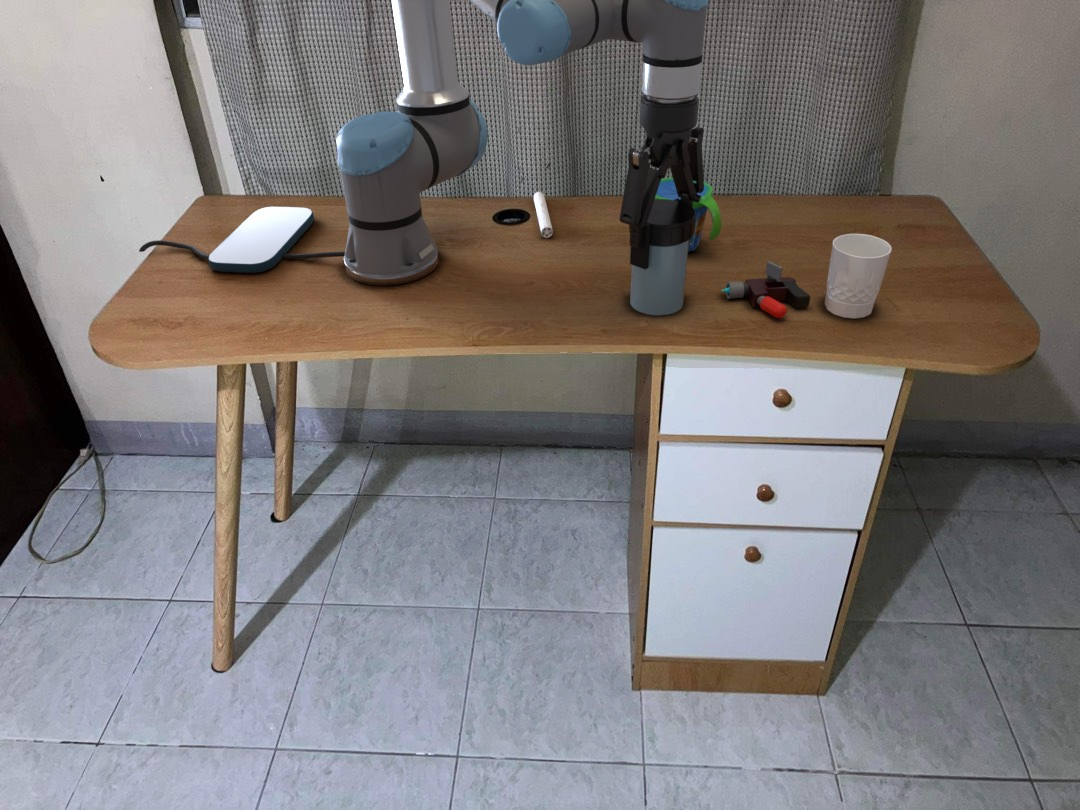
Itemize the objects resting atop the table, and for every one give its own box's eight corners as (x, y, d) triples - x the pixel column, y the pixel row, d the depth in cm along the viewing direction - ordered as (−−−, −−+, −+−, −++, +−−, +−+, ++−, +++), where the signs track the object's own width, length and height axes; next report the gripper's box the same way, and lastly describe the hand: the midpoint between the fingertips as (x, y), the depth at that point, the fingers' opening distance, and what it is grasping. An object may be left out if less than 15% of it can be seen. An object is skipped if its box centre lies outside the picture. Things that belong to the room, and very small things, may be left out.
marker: (532, 198, 159) (532, 187, 158) (543, 198, 159) (543, 186, 158) (541, 238, 145) (540, 225, 143) (553, 237, 145) (552, 225, 143)
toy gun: (717, 292, 127) (720, 263, 124) (793, 288, 128) (798, 259, 125) (734, 324, 119) (738, 294, 116) (815, 319, 120) (821, 289, 117)
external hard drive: (269, 276, 135) (266, 265, 134) (203, 273, 137) (199, 262, 136) (320, 217, 154) (318, 207, 153) (261, 215, 156) (259, 205, 155)
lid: (700, 224, 120) (702, 204, 118) (683, 250, 114) (685, 229, 112) (640, 215, 123) (641, 195, 122) (620, 240, 117) (621, 219, 115)
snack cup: (621, 240, 143) (623, 183, 137) (664, 223, 148) (667, 167, 142) (688, 271, 133) (694, 211, 127) (732, 251, 138) (739, 193, 132)
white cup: (814, 295, 126) (826, 233, 120) (867, 294, 125) (882, 233, 120) (827, 321, 119) (840, 257, 113) (883, 321, 119) (899, 257, 113)
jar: (627, 313, 123) (631, 227, 115) (632, 288, 129) (636, 205, 121) (682, 317, 121) (689, 230, 113) (684, 291, 128) (691, 207, 120)
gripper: (694, 72, 116) (682, 223, 129) (593, 109, 103) (591, 272, 116) (741, 81, 111) (724, 237, 125) (641, 121, 99) (633, 289, 112)
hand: (660, 254), depth 121 cm, fingers closed on lid, 9 cm apart
